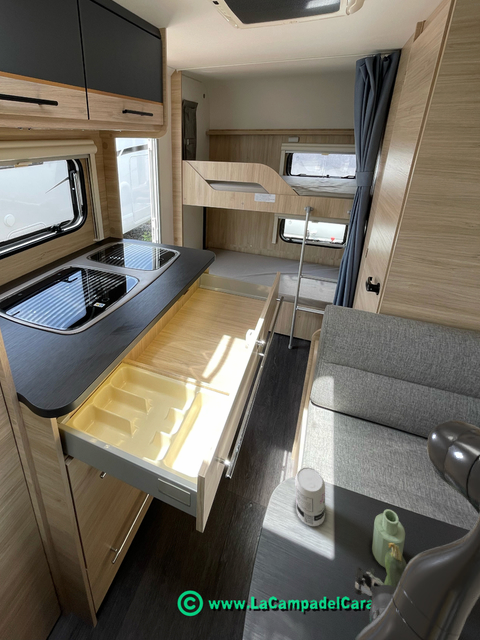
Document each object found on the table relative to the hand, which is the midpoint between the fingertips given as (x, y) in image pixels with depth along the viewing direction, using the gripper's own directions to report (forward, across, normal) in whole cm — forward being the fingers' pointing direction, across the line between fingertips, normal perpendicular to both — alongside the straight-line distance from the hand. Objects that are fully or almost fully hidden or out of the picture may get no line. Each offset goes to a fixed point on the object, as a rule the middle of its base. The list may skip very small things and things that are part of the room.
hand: (394, 586), depth 69 cm
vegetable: (+16, 0, +7) cm, 18 cm away
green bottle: (+22, +2, +1) cm, 22 cm away
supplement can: (+22, +22, +1) cm, 31 cm away
